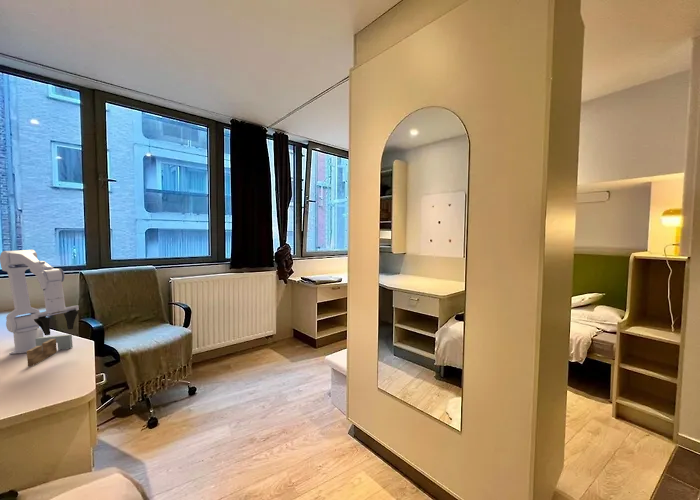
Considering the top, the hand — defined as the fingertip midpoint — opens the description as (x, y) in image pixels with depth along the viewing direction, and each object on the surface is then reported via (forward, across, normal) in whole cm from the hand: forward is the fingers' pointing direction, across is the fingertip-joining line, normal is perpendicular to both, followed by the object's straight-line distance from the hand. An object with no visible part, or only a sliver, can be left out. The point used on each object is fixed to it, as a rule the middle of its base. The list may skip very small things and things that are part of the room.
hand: (59, 332), depth 123 cm
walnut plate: (+10, -2, +8) cm, 13 cm away
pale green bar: (+9, +6, +16) cm, 19 cm away
